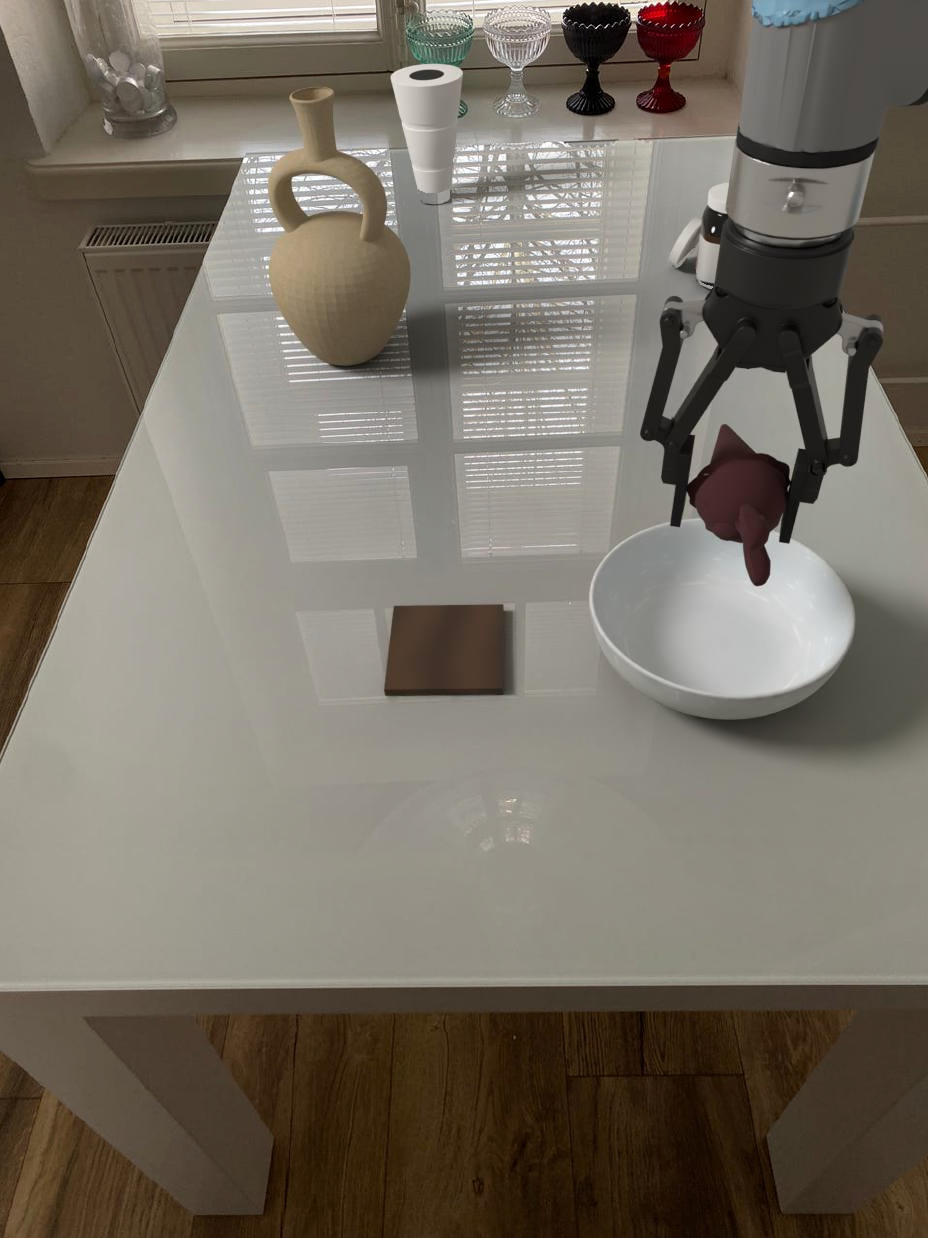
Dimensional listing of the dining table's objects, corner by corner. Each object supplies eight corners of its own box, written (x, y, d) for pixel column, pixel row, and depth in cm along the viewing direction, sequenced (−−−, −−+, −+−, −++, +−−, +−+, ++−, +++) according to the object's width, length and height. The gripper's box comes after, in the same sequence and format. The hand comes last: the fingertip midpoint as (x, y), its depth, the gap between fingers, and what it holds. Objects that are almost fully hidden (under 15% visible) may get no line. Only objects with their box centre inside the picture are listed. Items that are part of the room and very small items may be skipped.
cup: (440, 180, 159) (432, 59, 146) (482, 198, 153) (477, 73, 140) (389, 199, 154) (376, 75, 142) (429, 218, 148) (420, 91, 136)
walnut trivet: (503, 610, 87) (503, 603, 87) (503, 694, 80) (503, 688, 80) (394, 611, 88) (393, 605, 87) (385, 695, 81) (384, 689, 80)
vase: (263, 379, 117) (204, 116, 96) (317, 314, 128) (274, 65, 107) (390, 396, 113) (358, 125, 92) (435, 327, 124) (415, 71, 103)
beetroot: (670, 401, 73) (696, 542, 64) (769, 378, 71) (812, 520, 62) (681, 467, 78) (708, 607, 69) (775, 448, 77) (815, 588, 67)
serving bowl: (745, 548, 91) (757, 491, 86) (889, 704, 77) (914, 646, 72) (546, 611, 87) (547, 554, 82) (661, 789, 73) (671, 733, 68)
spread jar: (754, 298, 125) (770, 209, 117) (666, 296, 127) (675, 208, 119) (749, 257, 134) (764, 171, 125) (667, 255, 135) (676, 170, 127)
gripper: (606, 234, 56) (588, 534, 72) (980, 264, 51) (871, 578, 67) (629, 184, 61) (607, 475, 77) (971, 207, 56) (872, 512, 72)
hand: (730, 523), depth 72 cm, fingers closed on beetroot, 7 cm apart
